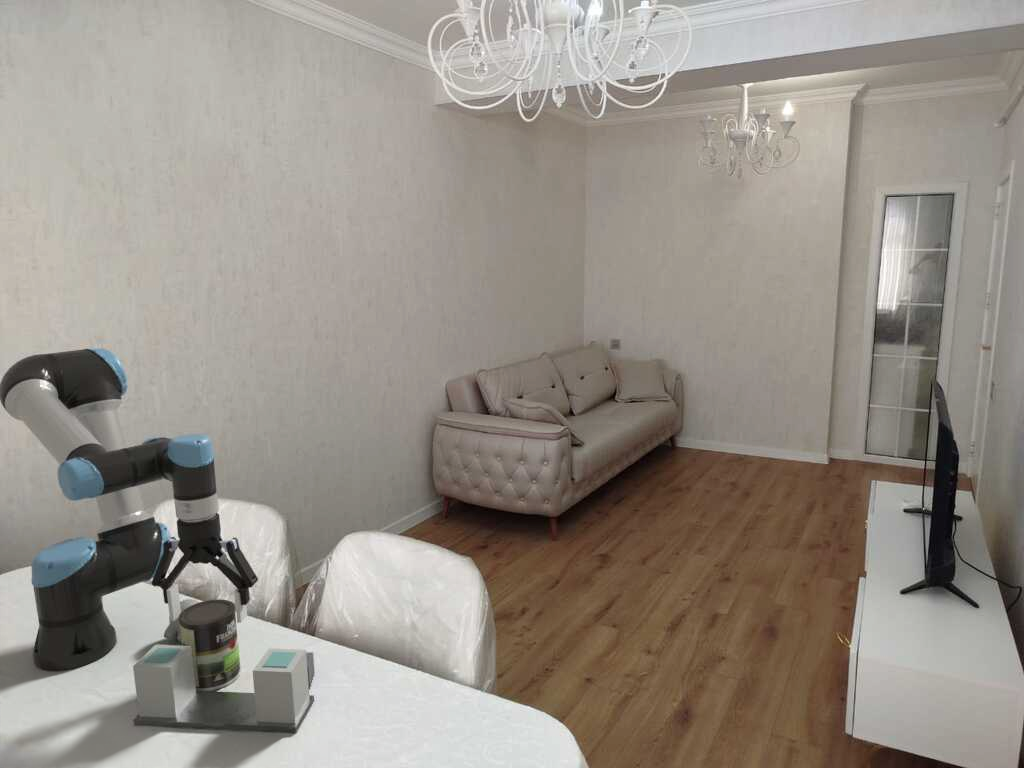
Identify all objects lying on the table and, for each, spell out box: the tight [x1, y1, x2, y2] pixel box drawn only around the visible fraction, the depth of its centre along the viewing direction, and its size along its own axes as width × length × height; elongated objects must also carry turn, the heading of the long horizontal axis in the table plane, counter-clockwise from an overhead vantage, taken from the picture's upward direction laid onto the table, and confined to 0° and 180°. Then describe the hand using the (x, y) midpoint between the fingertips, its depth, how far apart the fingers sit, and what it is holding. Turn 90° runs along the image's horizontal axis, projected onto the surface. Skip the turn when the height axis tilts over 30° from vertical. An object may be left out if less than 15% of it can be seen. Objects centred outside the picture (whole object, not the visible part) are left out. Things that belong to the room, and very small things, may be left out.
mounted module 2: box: [252, 648, 310, 723], centre depth 129 cm, size 7×7×10 cm
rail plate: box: [132, 690, 315, 734], centre depth 131 cm, size 30×9×1 cm, turn 85°
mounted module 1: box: [132, 644, 196, 718], centre depth 131 cm, size 7×7×10 cm
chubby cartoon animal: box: [163, 598, 200, 642], centre depth 158 cm, size 7×12×8 cm, turn 158°
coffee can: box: [179, 598, 242, 691], centre depth 141 cm, size 10×10×14 cm
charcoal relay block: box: [306, 651, 316, 690], centre depth 140 cm, size 5×5×5 cm
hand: (209, 618), depth 140 cm, fingers open, 13 cm apart
